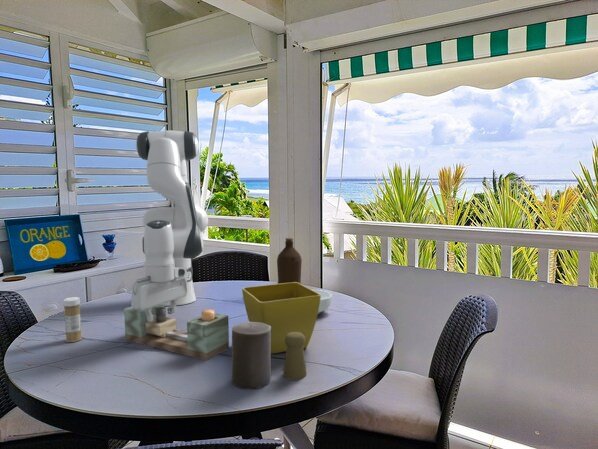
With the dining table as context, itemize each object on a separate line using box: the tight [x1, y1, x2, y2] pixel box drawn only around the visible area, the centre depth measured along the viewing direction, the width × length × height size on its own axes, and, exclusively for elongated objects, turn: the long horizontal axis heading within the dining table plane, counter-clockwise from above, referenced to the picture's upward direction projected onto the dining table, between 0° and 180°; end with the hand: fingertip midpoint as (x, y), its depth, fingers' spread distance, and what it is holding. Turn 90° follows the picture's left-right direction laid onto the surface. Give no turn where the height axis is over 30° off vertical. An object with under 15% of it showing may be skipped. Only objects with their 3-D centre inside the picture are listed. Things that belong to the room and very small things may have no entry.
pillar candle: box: [231, 321, 272, 390], centre depth 110 cm, size 10×10×15 cm
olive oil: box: [276, 237, 303, 284], centre depth 190 cm, size 11×11×25 cm
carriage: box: [146, 306, 178, 337], centre depth 137 cm, size 6×7×8 cm
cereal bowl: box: [312, 289, 333, 315], centre depth 166 cm, size 17×17×7 cm
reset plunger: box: [201, 308, 215, 322], centre depth 128 cm, size 4×4×4 cm
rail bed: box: [123, 304, 230, 361], centre depth 134 cm, size 33×10×10 cm, turn 61°
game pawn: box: [283, 332, 307, 381], centre depth 113 cm, size 6×6×11 cm
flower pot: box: [241, 282, 321, 354], centre depth 134 cm, size 19×19×17 cm
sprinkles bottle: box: [62, 296, 83, 343], centre depth 137 cm, size 5×5×14 cm
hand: (161, 317), depth 137 cm, fingers open, 7 cm apart
